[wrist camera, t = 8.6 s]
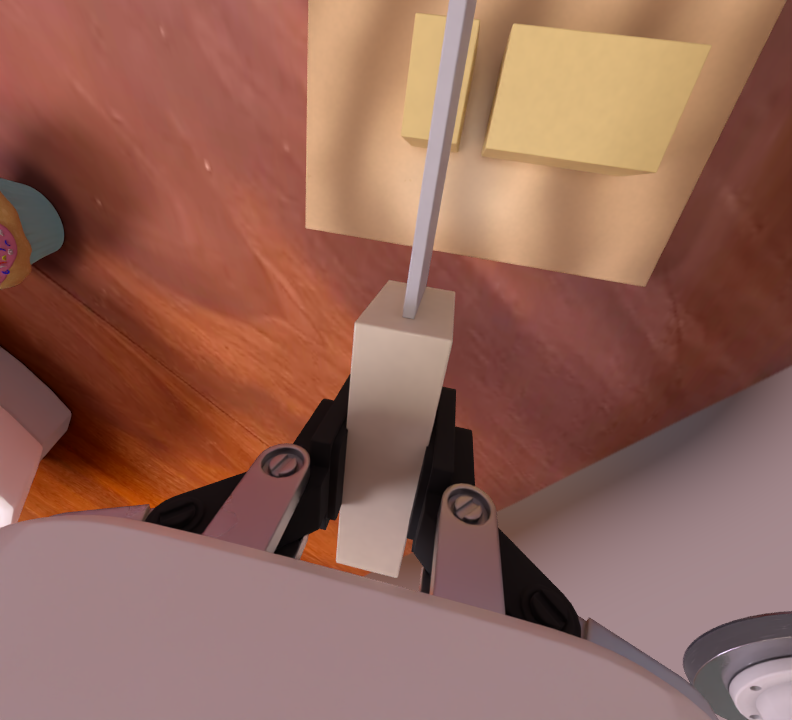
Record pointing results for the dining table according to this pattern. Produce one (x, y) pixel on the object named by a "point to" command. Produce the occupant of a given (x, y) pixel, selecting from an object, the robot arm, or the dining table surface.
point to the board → (467, 170)
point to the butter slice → (432, 79)
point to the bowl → (24, 432)
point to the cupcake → (25, 231)
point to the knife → (402, 355)
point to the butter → (590, 99)
